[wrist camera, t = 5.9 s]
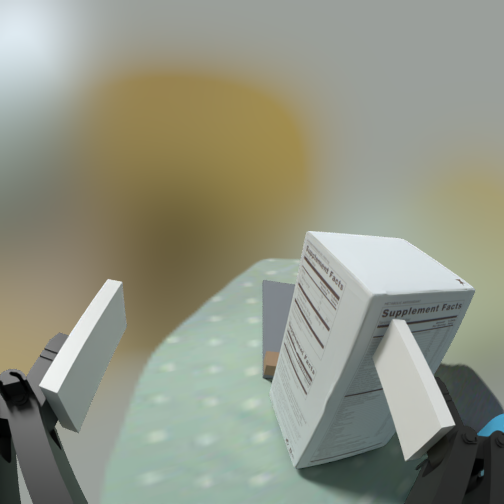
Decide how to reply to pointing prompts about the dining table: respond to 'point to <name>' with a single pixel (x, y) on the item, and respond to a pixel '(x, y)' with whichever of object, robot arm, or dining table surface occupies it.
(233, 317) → the dining table surface
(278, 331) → the topple mat
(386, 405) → the supplement box
